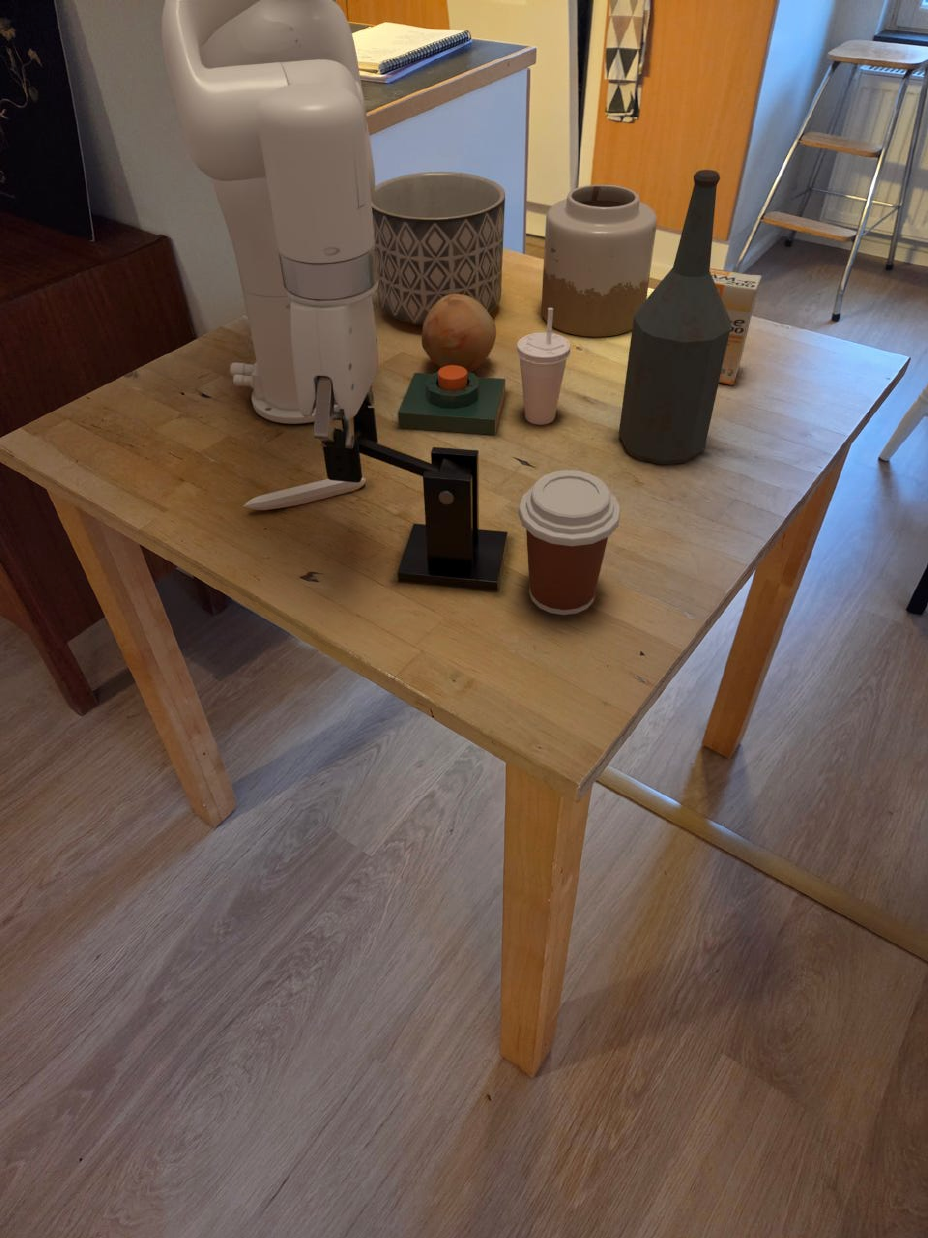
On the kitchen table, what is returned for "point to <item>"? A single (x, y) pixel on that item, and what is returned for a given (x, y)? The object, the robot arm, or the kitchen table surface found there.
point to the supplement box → (736, 315)
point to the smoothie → (542, 372)
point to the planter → (437, 241)
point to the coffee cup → (567, 538)
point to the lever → (402, 456)
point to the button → (452, 378)
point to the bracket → (453, 531)
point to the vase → (597, 260)
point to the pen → (303, 494)
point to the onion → (458, 332)
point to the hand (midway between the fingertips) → (353, 459)
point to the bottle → (678, 346)
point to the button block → (452, 405)
